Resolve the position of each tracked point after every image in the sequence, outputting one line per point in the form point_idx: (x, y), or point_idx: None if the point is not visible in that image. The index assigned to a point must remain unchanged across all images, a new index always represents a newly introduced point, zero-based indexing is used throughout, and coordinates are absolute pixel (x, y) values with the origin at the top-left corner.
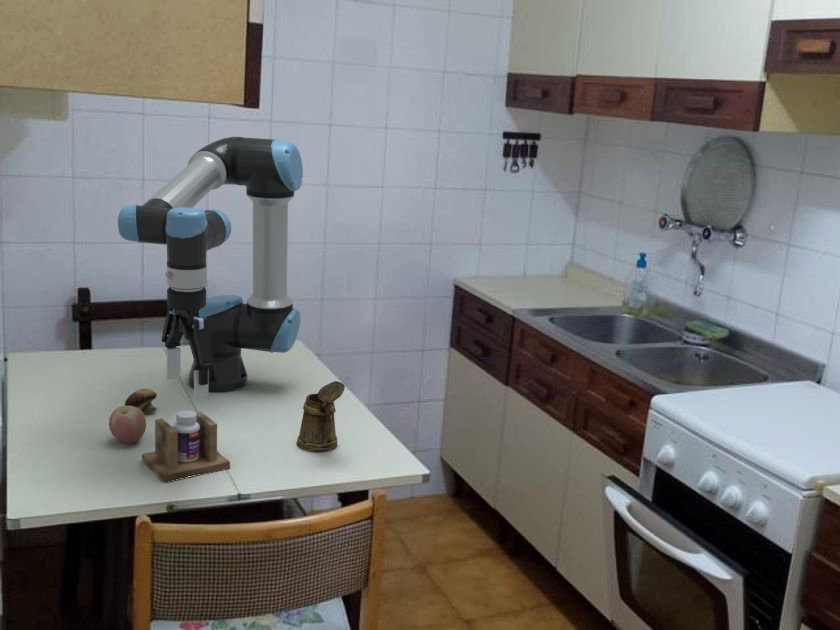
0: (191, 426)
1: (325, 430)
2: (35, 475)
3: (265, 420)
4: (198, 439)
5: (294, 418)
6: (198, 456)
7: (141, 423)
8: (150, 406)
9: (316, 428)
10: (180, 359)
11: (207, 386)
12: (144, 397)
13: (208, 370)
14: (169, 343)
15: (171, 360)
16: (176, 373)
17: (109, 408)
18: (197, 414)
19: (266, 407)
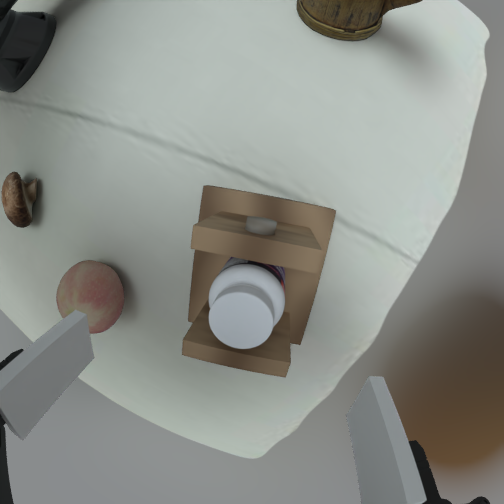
0: (274, 310)
1: (395, 6)
2: (167, 416)
3: (169, 19)
4: (281, 274)
5: None
6: None
7: (107, 293)
8: (31, 190)
9: (376, 6)
10: (32, 360)
11: (397, 421)
12: (19, 207)
13: (422, 485)
14: (4, 457)
15: (45, 396)
16: (77, 341)
17: (14, 229)
18: (209, 248)
19: (127, 4)
